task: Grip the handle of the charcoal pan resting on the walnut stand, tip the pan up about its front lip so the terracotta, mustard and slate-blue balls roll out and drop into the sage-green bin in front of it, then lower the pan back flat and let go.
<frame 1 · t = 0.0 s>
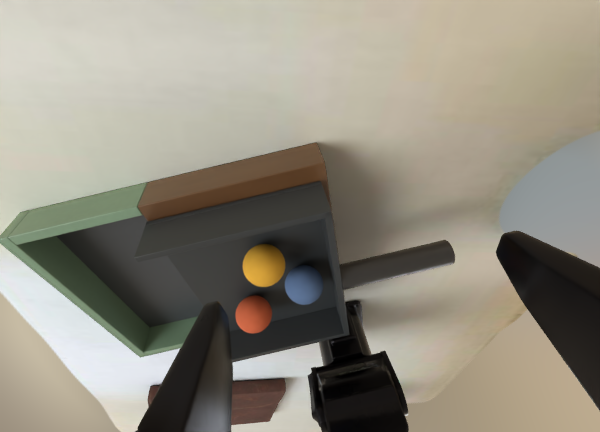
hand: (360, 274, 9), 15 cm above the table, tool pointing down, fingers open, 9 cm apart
terracotta ball: (253, 314, 27), point 5 cm above the table, touching pan
slate-blue ball: (304, 284, 25), point 5 cm above the table, touching pan
notebook: (217, 399, 51), on the table
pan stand: (263, 245, 29), on the table
pan: (316, 275, 25), point 5 cm above the table, hinge at -0.1°, touching mustard ball, slate-blue ball, terracotta ball
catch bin: (150, 271, 29), on the table
mustard ball: (264, 265, 23), point 5 cm above the table, touching pan
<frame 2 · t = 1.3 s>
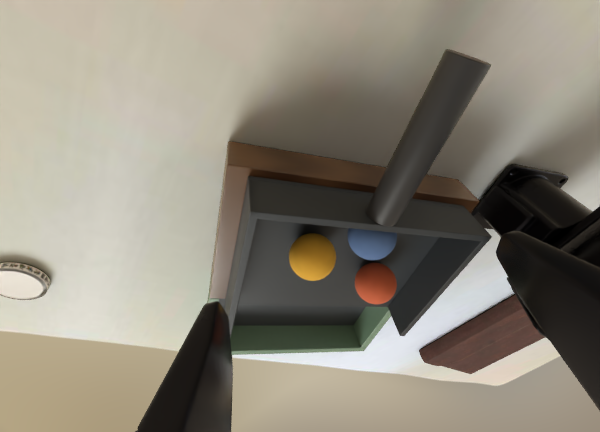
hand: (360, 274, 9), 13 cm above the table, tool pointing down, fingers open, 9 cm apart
terracotta ball: (375, 283, 24), point 5 cm above the table, tilted 37°, touching pan
slate-blue ball: (371, 236, 20), point 5 cm above the table, tilted 31°, touching pan
notebook: (497, 327, 45), on the table
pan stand: (329, 227, 26), on the table
pan: (366, 228, 20), point 5 cm above the table, hinge at -0.1°, touching mustard ball, slate-blue ball, terracotta ball
white bottle cap: (21, 277, 24), on the table
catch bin: (297, 302, 33), on the table
mustard ball: (312, 256, 21), point 5 cm above the table, tilted 37°, touching pan
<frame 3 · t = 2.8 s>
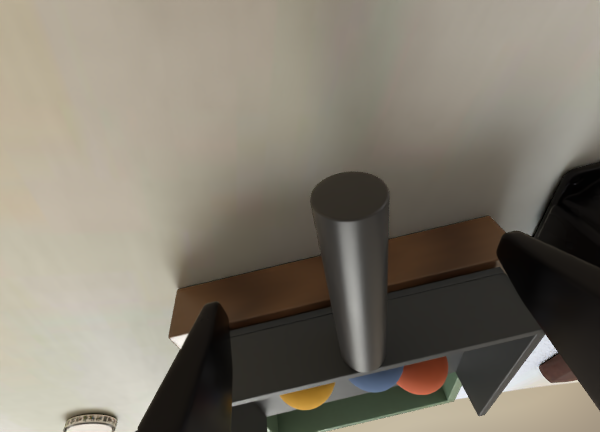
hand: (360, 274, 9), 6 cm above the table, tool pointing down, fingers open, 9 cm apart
terracotta ball: (415, 361, 17), point 5 cm above the table, tilted 140°, touching pan
slate-blue ball: (371, 356, 15), point 5 cm above the table, tilted 32°, touching pan
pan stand: (342, 310, 22), on the table
pan: (359, 350, 15), point 5 cm above the table, hinge at -0.1°, touching mustard ball, slate-blue ball, terracotta ball
white bottle cap: (93, 420, 27), on the table
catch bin: (351, 371, 29), on the table
mustard ball: (304, 372, 15), point 5 cm above the table, tilted 117°, touching pan
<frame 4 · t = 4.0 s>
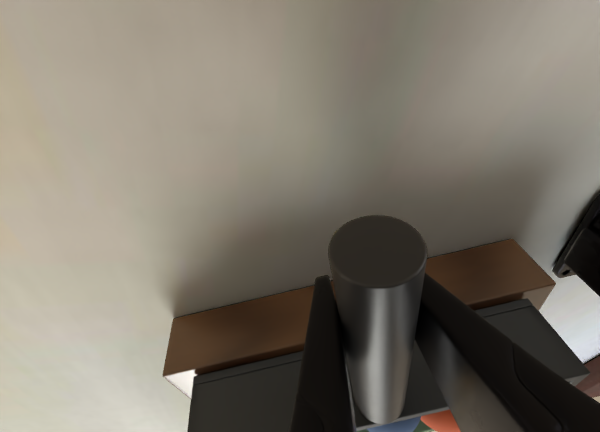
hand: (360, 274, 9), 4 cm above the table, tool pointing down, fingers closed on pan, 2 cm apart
terracotta ball: (441, 394, 15), point 5 cm above the table, tilted 150°, touching pan
slate-blue ball: (385, 396, 14), point 5 cm above the table, tilted 32°, touching pan
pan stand: (350, 335, 20), on the table
pan: (373, 390, 14), point 5 cm above the table, hinge at -0.1°, touching gripper, mustard ball, slate-blue ball, terracotta ball
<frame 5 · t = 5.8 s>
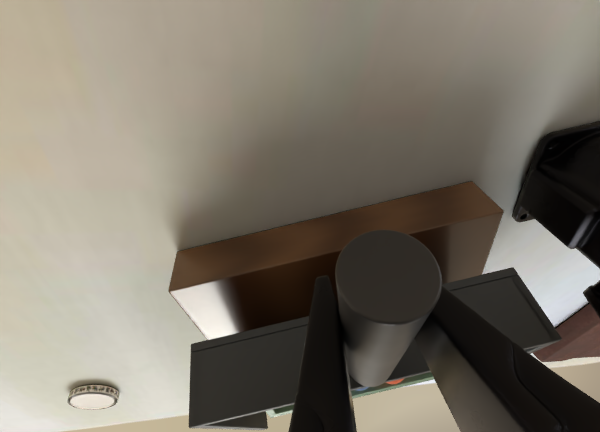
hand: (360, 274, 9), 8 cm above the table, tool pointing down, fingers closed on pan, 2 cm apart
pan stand: (335, 279, 23), on the table
pan: (362, 351, 15), point 7 cm above the table, hinge at 12.8°, touching gripper
white bottle cap: (96, 392, 28), on the table
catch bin: (346, 345, 30), on the table
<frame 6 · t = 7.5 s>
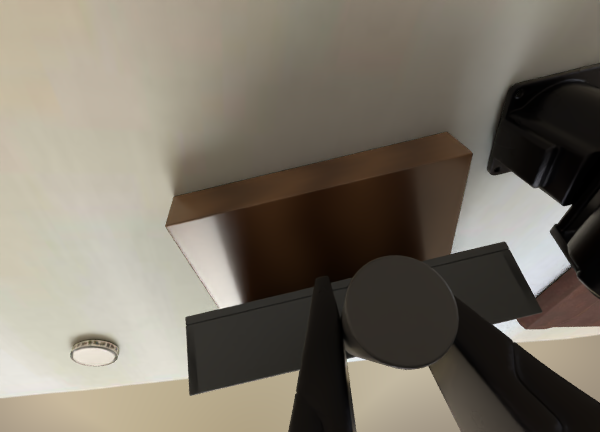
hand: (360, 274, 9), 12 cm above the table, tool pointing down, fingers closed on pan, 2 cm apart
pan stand: (322, 232, 24), on the table
pan: (353, 319, 16), point 9 cm above the table, hinge at 24.8°, touching gripper
white bottle cap: (97, 348, 30), on the table
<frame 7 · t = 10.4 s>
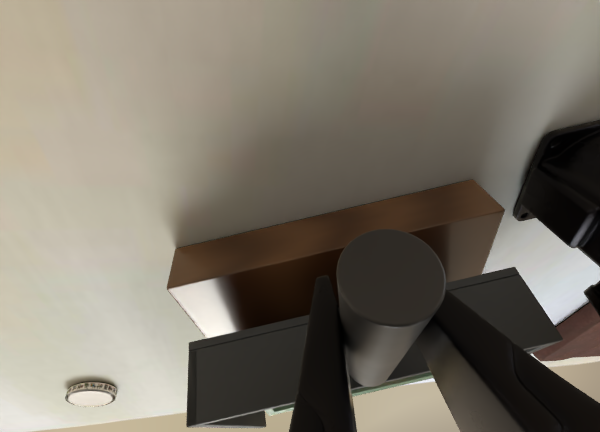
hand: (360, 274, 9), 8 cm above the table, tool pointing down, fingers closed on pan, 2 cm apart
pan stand: (334, 277, 23), on the table
pan: (361, 350, 15), point 7 cm above the table, hinge at 12.9°, touching gripper
white bottle cap: (94, 389, 28), on the table
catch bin: (345, 344, 30), on the table
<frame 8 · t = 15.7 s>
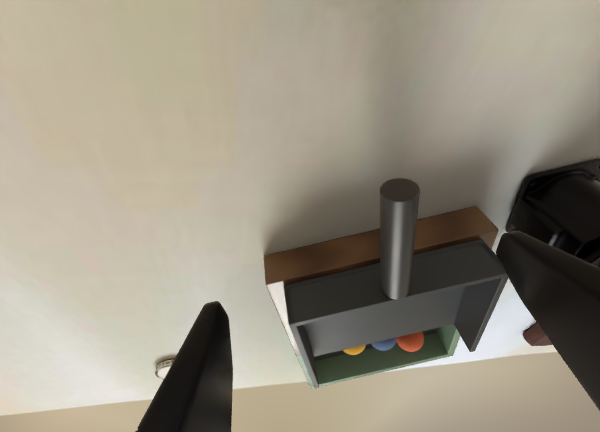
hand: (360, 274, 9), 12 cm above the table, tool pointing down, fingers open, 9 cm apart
terracotta ball: (409, 337, 36), point 2 cm above the table, tilted 29°, touching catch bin
slate-blue ball: (382, 335, 35), point 2 cm above the table, tilted 92°, touching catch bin
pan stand: (371, 276, 30), on the table
pan: (390, 292, 24), point 5 cm above the table, hinge at -0.2°
white bottle cap: (175, 365, 36), on the table
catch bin: (373, 330, 37), on the table
mustard ball: (352, 339, 34), point 2 cm above the table, tilted 19°, touching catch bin
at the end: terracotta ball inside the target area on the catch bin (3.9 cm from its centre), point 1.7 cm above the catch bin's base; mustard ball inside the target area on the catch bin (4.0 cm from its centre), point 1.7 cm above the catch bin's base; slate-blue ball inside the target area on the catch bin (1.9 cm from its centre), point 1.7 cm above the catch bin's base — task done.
